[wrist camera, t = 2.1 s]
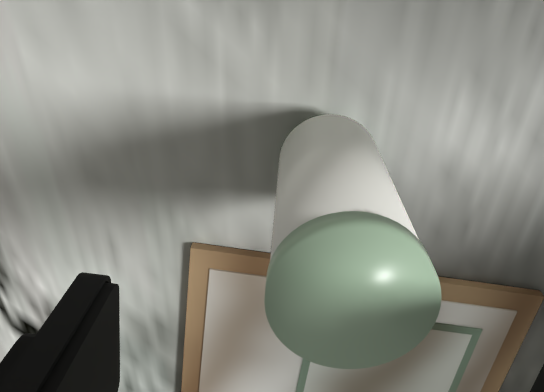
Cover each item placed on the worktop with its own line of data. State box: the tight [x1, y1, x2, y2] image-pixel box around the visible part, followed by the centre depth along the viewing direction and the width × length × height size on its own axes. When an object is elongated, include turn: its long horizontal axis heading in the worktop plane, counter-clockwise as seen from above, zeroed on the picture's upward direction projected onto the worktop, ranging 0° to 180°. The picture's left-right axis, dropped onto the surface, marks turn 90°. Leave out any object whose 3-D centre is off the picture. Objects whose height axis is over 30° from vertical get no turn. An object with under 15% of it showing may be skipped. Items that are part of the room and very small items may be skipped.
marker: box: [264, 114, 442, 369], centre depth 15 cm, size 4×4×10 cm
